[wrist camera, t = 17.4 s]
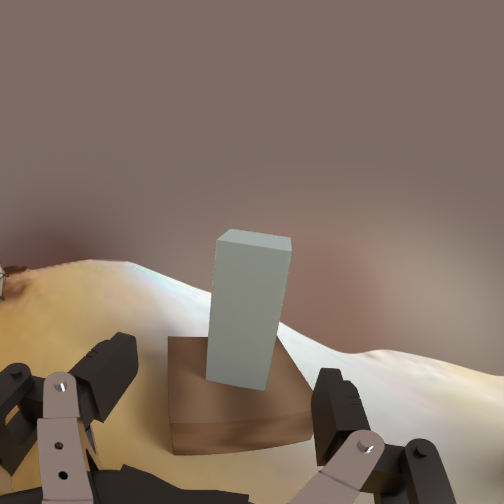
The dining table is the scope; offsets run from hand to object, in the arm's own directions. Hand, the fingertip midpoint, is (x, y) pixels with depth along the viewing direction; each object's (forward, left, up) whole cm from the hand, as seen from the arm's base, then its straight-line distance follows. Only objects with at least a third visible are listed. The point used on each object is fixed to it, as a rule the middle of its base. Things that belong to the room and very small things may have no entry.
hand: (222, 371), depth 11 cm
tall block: (-4, -10, -8) cm, 14 cm away
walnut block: (-4, -10, -13) cm, 17 cm away
